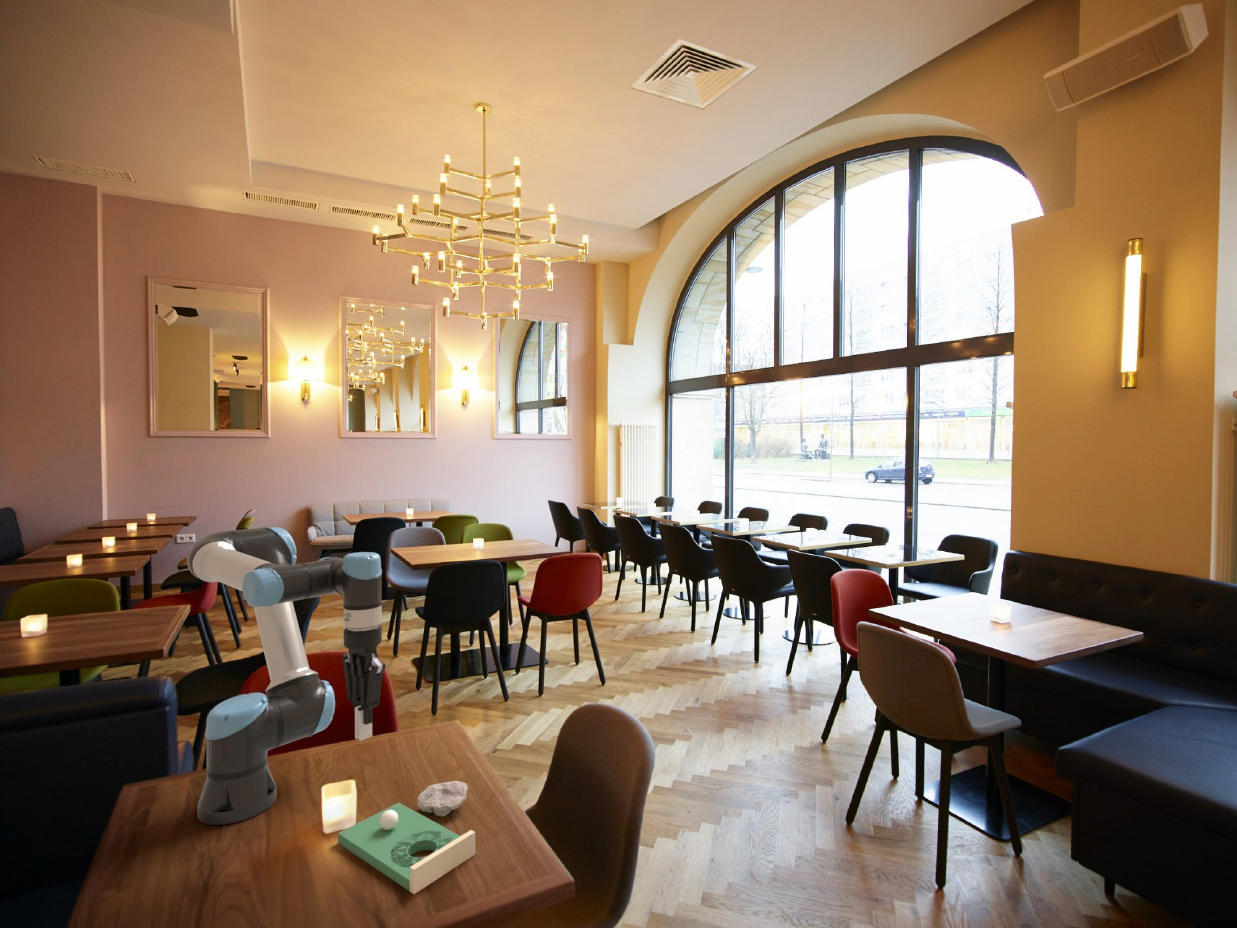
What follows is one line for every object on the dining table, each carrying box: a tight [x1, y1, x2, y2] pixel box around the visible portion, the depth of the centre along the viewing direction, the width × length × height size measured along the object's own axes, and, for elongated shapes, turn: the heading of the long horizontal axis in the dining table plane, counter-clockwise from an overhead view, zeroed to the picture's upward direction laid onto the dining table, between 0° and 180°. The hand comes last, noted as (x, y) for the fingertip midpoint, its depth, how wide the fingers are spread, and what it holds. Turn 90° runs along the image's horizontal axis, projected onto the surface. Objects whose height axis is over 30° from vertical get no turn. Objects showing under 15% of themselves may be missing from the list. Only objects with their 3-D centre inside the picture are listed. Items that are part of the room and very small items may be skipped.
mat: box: [337, 802, 476, 895], centre depth 125 cm, size 25×14×4 cm, turn 53°
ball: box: [380, 810, 398, 830], centre depth 128 cm, size 4×4×4 cm
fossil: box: [416, 780, 469, 817], centre depth 139 cm, size 9×6×10 cm
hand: (363, 736), depth 133 cm, fingers closed
